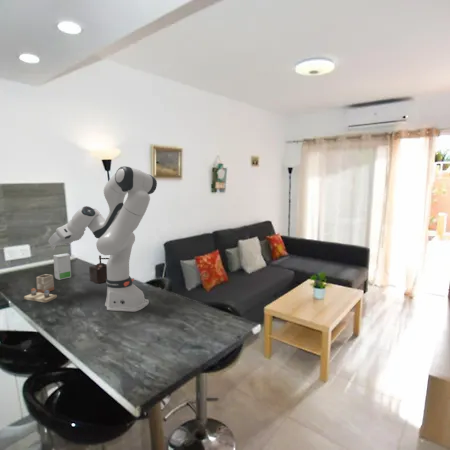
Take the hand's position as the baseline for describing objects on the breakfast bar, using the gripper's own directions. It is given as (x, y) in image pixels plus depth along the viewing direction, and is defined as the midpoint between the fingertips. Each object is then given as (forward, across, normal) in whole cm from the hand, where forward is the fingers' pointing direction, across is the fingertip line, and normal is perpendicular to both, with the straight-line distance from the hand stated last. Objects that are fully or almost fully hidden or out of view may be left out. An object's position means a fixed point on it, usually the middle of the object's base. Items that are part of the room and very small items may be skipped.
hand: (59, 246), depth 165 cm
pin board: (+23, +10, +16) cm, 30 cm away
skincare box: (+35, -22, +5) cm, 41 cm away
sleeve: (+28, 0, +11) cm, 30 cm away
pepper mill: (+15, -28, +24) cm, 40 cm away
